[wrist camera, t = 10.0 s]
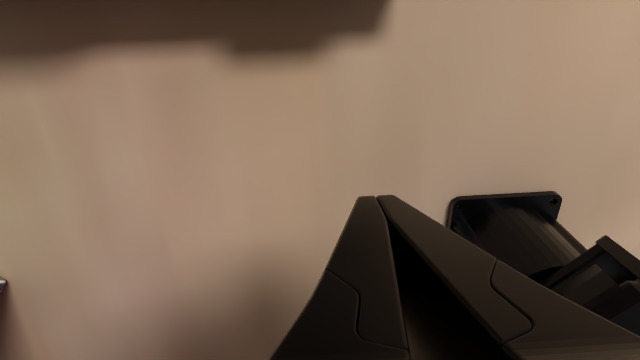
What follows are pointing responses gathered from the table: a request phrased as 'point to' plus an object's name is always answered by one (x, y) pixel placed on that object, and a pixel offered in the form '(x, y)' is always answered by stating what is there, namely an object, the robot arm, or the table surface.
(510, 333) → the robot arm
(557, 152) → the table surface
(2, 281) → the candy bar box
